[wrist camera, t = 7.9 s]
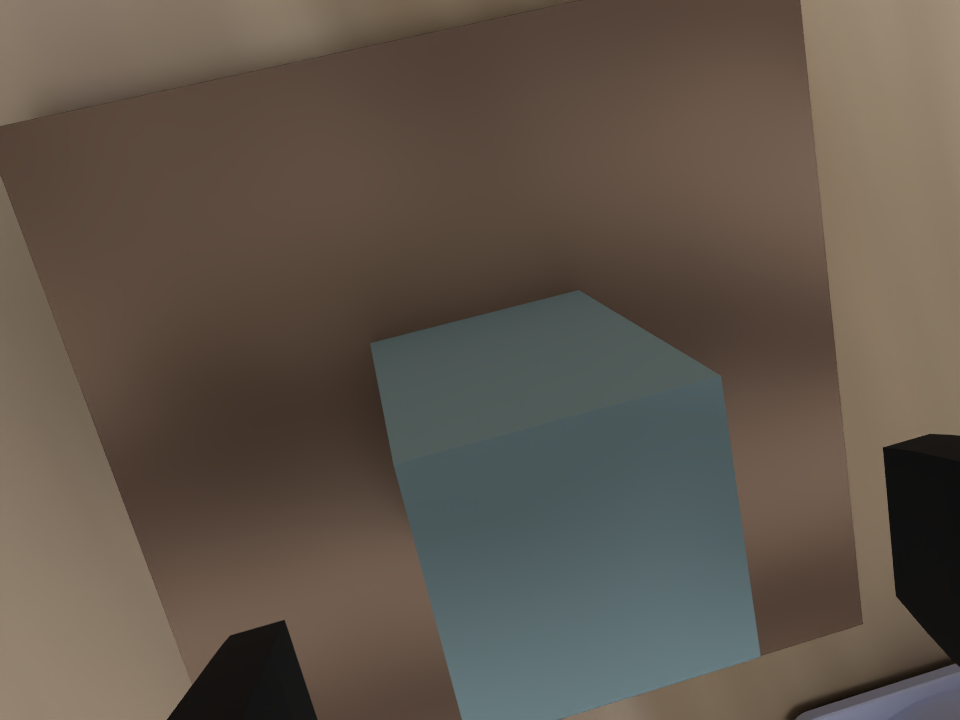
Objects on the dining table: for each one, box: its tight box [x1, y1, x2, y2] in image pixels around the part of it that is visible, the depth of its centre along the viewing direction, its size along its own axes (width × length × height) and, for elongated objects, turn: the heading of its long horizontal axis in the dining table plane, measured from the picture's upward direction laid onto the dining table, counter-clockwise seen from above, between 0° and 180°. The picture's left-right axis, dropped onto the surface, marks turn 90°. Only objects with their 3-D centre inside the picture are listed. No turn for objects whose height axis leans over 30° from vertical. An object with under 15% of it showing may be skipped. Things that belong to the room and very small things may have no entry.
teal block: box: [370, 290, 761, 720], centre depth 13 cm, size 4×4×6 cm
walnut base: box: [0, 0, 863, 720], centre depth 17 cm, size 14×14×2 cm
